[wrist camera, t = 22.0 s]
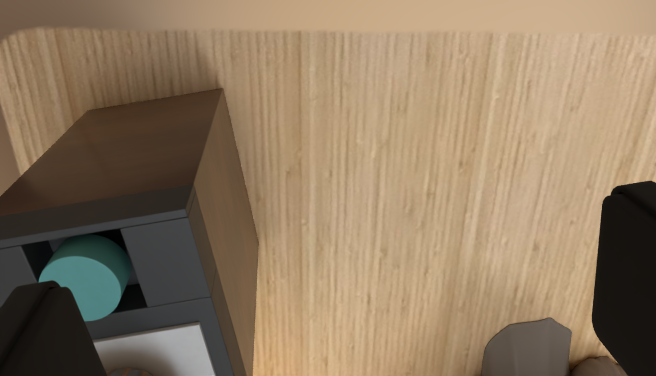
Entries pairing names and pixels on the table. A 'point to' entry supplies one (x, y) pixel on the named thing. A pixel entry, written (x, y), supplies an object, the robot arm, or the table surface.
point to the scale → (139, 280)
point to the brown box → (159, 181)
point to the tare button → (90, 273)
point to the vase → (128, 372)
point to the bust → (539, 353)
